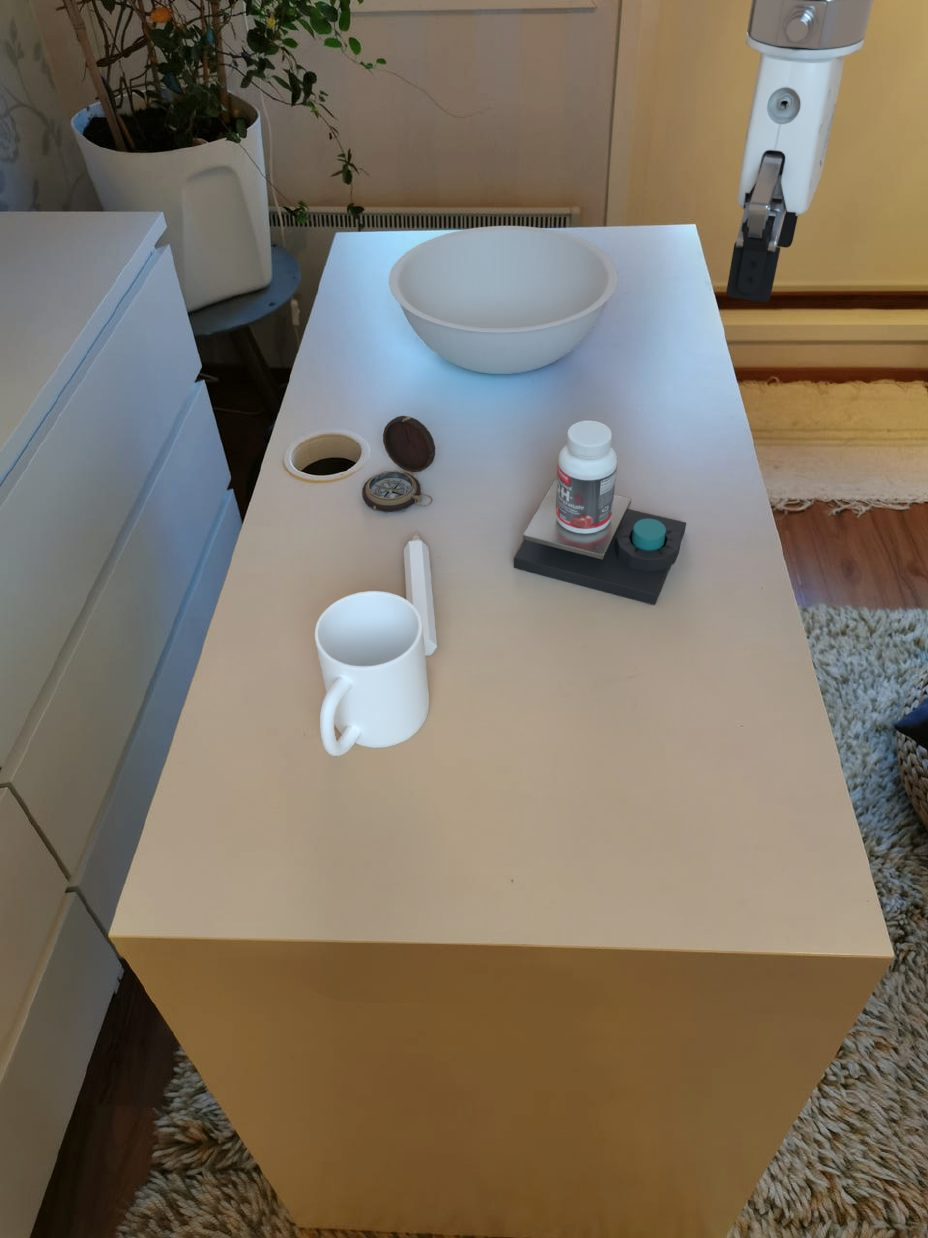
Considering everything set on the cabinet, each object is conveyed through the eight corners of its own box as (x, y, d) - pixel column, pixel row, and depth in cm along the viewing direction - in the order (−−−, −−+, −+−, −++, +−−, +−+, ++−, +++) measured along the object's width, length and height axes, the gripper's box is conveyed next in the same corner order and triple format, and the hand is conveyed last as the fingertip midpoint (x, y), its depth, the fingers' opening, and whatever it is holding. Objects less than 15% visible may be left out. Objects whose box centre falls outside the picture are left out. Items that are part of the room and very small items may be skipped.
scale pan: (631, 502, 94) (631, 498, 93) (603, 560, 88) (603, 555, 88) (554, 484, 96) (554, 480, 96) (522, 539, 90) (522, 534, 90)
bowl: (623, 407, 111) (631, 328, 103) (389, 413, 111) (381, 335, 104) (600, 295, 130) (605, 222, 123) (401, 301, 130) (394, 228, 123)
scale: (689, 534, 95) (693, 510, 93) (659, 606, 88) (663, 583, 86) (551, 501, 99) (552, 478, 97) (513, 568, 92) (513, 544, 90)
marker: (417, 543, 96) (427, 659, 85) (398, 537, 95) (406, 653, 84) (429, 525, 95) (441, 640, 83) (410, 518, 94) (419, 634, 82)
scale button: (667, 535, 91) (669, 522, 90) (659, 554, 89) (661, 542, 88) (637, 527, 92) (638, 515, 90) (628, 546, 90) (629, 534, 89)
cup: (446, 691, 81) (440, 607, 74) (380, 800, 74) (366, 719, 67) (362, 663, 84) (348, 579, 77) (289, 765, 77) (266, 683, 69)
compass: (351, 503, 100) (342, 446, 95) (392, 463, 104) (386, 406, 99) (415, 527, 97) (410, 469, 92) (455, 484, 101) (452, 427, 96)
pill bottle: (544, 523, 91) (548, 438, 84) (571, 493, 94) (577, 408, 87) (595, 543, 89) (603, 457, 82) (621, 511, 92) (630, 426, 85)
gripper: (851, 60, 56) (790, 329, 68) (882, -12, 67) (825, 231, 79) (722, 50, 58) (686, 313, 70) (773, -17, 69) (734, 219, 81)
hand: (759, 269), depth 74 cm, fingers open, 9 cm apart
